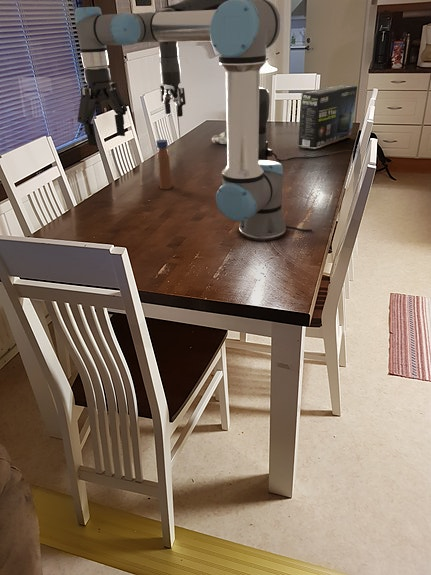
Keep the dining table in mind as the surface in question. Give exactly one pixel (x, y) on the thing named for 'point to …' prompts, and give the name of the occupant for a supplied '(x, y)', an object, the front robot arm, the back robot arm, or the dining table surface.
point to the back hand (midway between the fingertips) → (173, 115)
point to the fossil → (220, 138)
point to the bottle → (164, 168)
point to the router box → (326, 115)
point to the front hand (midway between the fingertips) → (107, 140)
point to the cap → (161, 143)
